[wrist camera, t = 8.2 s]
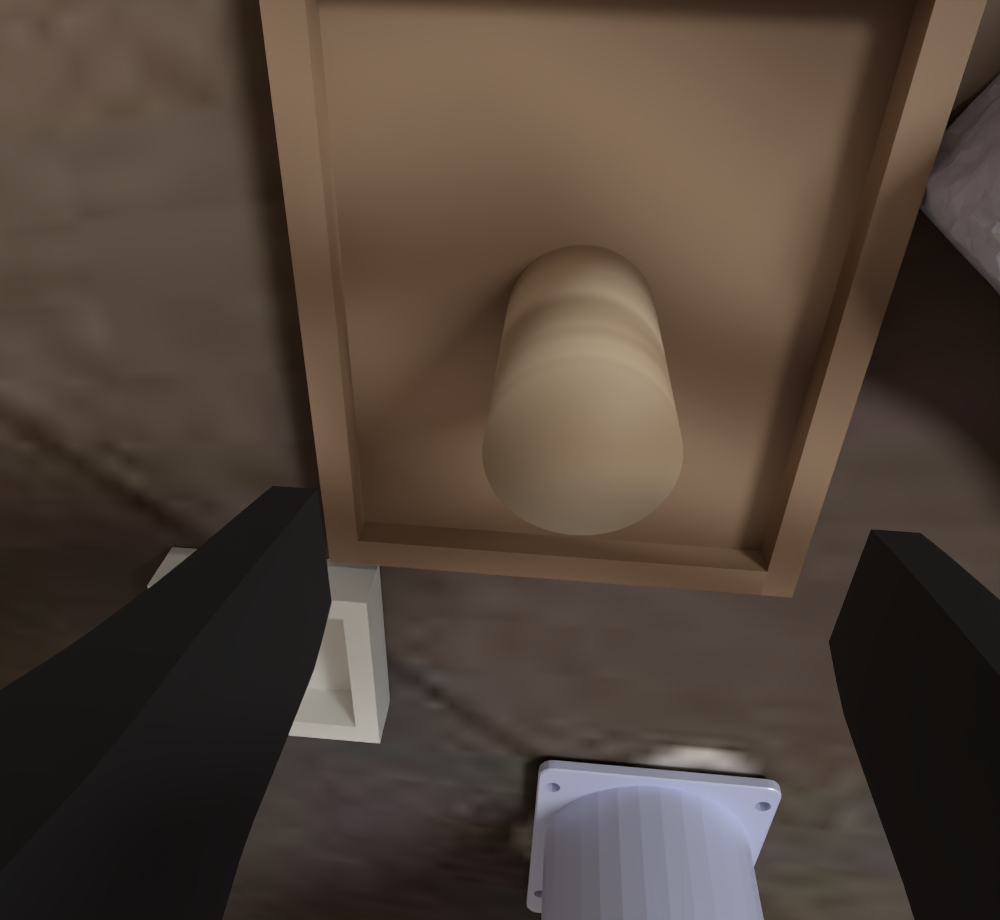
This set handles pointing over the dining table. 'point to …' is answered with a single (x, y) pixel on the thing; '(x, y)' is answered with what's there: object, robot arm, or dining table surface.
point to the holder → (340, 657)
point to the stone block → (970, 184)
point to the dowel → (582, 397)
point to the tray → (608, 224)
